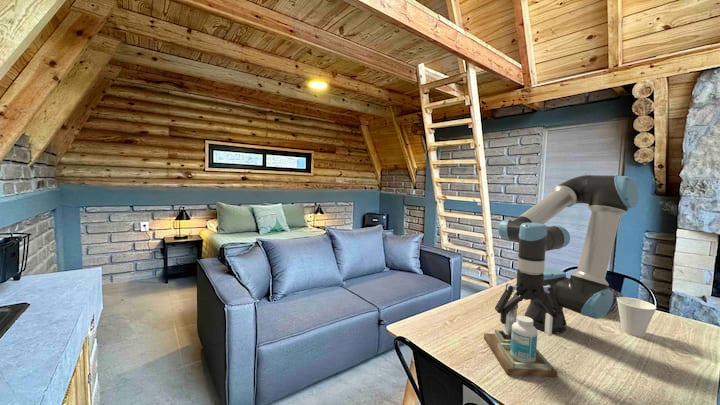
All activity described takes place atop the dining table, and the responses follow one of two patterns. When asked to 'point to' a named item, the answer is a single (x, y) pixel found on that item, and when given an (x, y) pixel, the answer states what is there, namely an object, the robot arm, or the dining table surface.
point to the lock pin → (511, 322)
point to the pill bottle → (523, 340)
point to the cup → (635, 315)
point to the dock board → (513, 366)
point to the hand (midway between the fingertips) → (526, 333)
